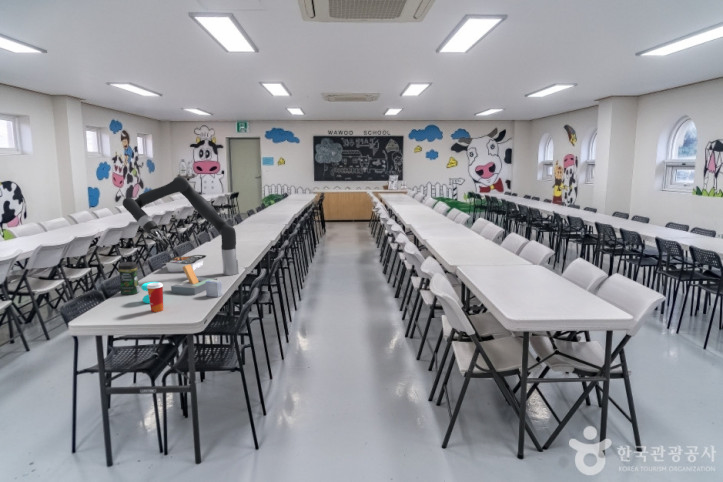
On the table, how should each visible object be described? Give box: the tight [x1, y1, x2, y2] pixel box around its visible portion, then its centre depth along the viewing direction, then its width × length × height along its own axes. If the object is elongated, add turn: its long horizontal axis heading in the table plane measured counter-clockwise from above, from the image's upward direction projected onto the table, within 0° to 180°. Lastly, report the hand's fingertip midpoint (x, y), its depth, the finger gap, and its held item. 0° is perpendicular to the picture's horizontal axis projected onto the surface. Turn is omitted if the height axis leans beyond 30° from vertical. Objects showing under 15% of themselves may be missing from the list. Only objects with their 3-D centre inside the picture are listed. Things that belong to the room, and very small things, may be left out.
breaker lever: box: [182, 264, 199, 284], centre depth 271 cm, size 2×5×12 cm, turn 162°
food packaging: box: [161, 254, 207, 273], centre depth 325 cm, size 25×8×23 cm
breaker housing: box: [170, 276, 218, 296], centre depth 271 cm, size 16×22×4 cm
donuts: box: [140, 281, 159, 304], centre depth 248 cm, size 10×10×10 cm
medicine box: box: [205, 279, 224, 298], centre depth 256 cm, size 8×4×9 cm, turn 71°
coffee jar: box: [117, 261, 141, 296], centre depth 263 cm, size 10×8×19 cm
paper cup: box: [147, 281, 164, 313], centre depth 231 cm, size 8×8×14 cm
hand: (166, 244), depth 273 cm, fingers open, 2 cm apart
